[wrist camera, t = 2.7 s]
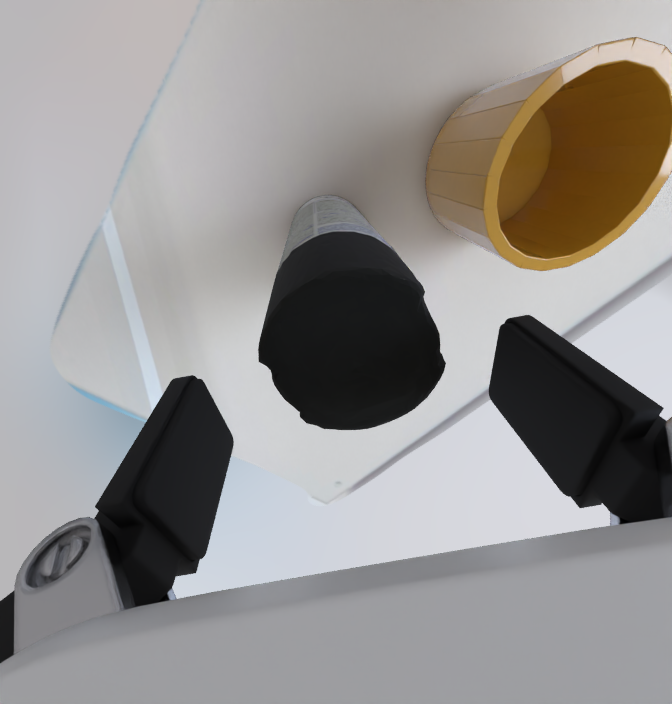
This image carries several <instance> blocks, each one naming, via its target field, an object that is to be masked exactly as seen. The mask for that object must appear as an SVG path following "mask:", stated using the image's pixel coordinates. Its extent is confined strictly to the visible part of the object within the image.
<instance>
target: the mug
mask: <svg viewBox="0 0 672 704" xmlns="http://www.w3.org/2000/svg"><path fill="white" fill-rule="evenodd" d="M671 172H672V53H671V52H670V51H669V50H668V48H667V47H665V45H661V44H658V43H655V42H651V41H648V40H645V39H641V38H638V37H635V38H633V37H631V38H626V39H621V40H616V41H611V42H606V43H601V44H597V45H594V46H592V47H589V48H587V49H584V50H581V51H579V52H576V53H574V54H571V55H568V56H566V57H563V58H561V59H558V60H556V61H553V62H550V63H548V64H545V65H543V66H540V67H537V68H535V69H532V70H530V71H527V72H524V73H522V74H519V75H517V76H514V77H511V78H509V79H506V80H504V81H501V82H498V83H496V84H493V85H491V86H490V87H488V88H486V89H484V90H482V91H479V92H478V93H476V94H475V95H473V96H471V97H470V98H469V99H467V100H466V101H465V102H464V103H462V104H461V105H460V106H459V107H458V108H457V109H456V110H455V111H454V112H453V114H452V115H451V116H450V117H449V119H448V120H447V121H446V123H445V124H444V126H443V127H442V129H441V130H440V132H439V134H438V136H437V138H436V140H435V142H434V145H433V147H432V150H431V153H430V156H429V160H428V164H427V170H426V193H427V199H428V202H429V205H430V208H431V210H432V212H433V214H434V216H435V217H436V219H437V220H438V221H439V222H440V223H441V224H442V225H443V226H444V227H445V228H447V229H448V230H450V231H452V232H453V233H455V234H457V235H458V236H460V237H462V238H464V239H466V240H468V241H470V242H471V243H473V244H475V245H477V246H479V247H481V248H483V249H485V250H486V251H488V252H490V253H492V254H494V255H496V256H498V257H500V258H501V259H503V260H505V261H507V262H509V263H511V264H513V265H515V266H516V267H519V268H523V269H530V270H537V271H546V270H552V269H558V268H563V267H568V266H571V265H573V264H575V263H577V262H580V261H582V260H584V259H586V258H588V257H591V256H593V255H595V254H596V253H598V252H599V251H601V250H602V249H603V248H605V247H606V246H607V245H609V244H610V243H612V242H613V241H614V240H616V239H617V238H618V237H620V236H621V235H622V234H624V233H625V232H626V231H627V230H628V229H629V228H630V227H631V225H632V224H633V223H634V222H635V221H636V220H637V219H638V218H639V217H640V216H641V215H642V214H643V213H644V212H645V211H646V210H647V209H648V208H647V207H649V206H650V205H651V203H652V202H653V200H654V199H655V197H656V196H657V194H658V193H659V191H660V190H661V188H662V187H663V185H664V184H665V182H666V181H667V179H668V178H669V175H670V174H671Z"/></svg>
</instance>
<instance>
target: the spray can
mask: <svg viewBox="0 0 672 704" xmlns="http://www.w3.org/2000/svg"><path fill="white" fill-rule="evenodd" d="M424 293H425V291H424V289H423V286H422V285H421V283H420V282H419V281H418V280H417V279H416V278H415V276H414V275H413V273H412V272H411V270H410V269H409V268H408V267H407V266H406V264H405V263H404V262H403V261H402V260H401V259H400V257H399V256H398V255H397V253H396V252H395V251H394V249H393V248H392V247H391V246H390V245H389V244H388V243H387V242H386V241H385V240H384V239H383V238H382V237H381V235H380V234H379V233H378V232H377V231H376V230H375V229H374V228H373V227H372V226H371V224H370V223H369V222H368V221H367V220H366V219H365V218H364V217H363V215H362V214H361V213H360V212H359V211H358V210H357V209H356V208H355V207H354V205H352V204H351V203H350V202H348V201H347V200H345V199H343V198H341V197H337V196H332V195H324V196H319V197H315V198H313V199H311V200H309V201H308V202H306V203H305V204H304V205H303V206H302V207H301V208H300V209H299V210H298V212H297V213H296V215H295V217H294V219H293V221H292V225H291V228H290V231H289V235H288V238H287V241H286V244H285V248H284V251H283V255H282V258H281V261H280V265H279V268H278V272H277V274H276V278H275V282H274V285H273V289H272V293H271V297H270V301H269V305H268V309H267V313H266V317H265V321H264V325H263V329H262V333H261V337H260V342H259V349H258V351H259V362H260V363H262V364H264V365H266V366H267V367H268V368H269V369H270V370H271V373H272V380H273V382H274V385H275V386H276V388H277V390H278V391H279V393H280V394H281V395H282V396H283V398H284V399H285V400H286V401H287V402H288V403H290V404H291V405H292V406H293V407H294V408H296V409H297V410H298V411H299V412H300V417H301V418H302V419H303V420H304V421H305V422H306V423H308V424H313V425H317V426H319V427H321V428H323V429H337V430H360V429H368V428H372V427H376V426H379V425H382V424H384V423H387V422H390V421H392V420H395V419H397V418H399V417H401V416H403V415H405V414H407V413H408V412H410V411H412V410H413V409H415V408H416V407H417V406H418V405H419V404H420V403H421V402H422V401H424V400H425V399H426V398H427V397H428V395H429V394H430V393H431V392H432V390H433V389H434V388H435V386H436V384H437V383H438V381H439V380H440V378H441V376H442V374H443V372H444V368H445V364H446V363H445V361H444V359H443V356H442V354H441V353H440V337H439V332H438V330H437V327H436V325H435V323H434V321H433V319H432V317H431V315H430V313H429V311H428V309H427V306H426V304H425V302H424V298H423V296H424Z"/></svg>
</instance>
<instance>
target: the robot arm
mask: <svg viewBox="0 0 672 704" xmlns="http://www.w3.org/2000/svg"><path fill="white" fill-rule="evenodd" d="M489 396H490V399H491V400H492V402H493V403H494V405H495V406H496V407H497V408H498V410H499V411H500V412H501V414H502V415H503V416H504V418H505V419H506V420H507V422H508V423H509V424H510V425H511V427H512V428H513V429H514V431H515V432H516V433H517V435H518V436H519V437H520V438H521V440H522V441H523V442H524V444H525V445H526V446H527V448H528V449H529V450H530V452H531V453H532V454H533V455H534V457H535V458H536V459H537V461H538V462H539V463H540V465H541V466H542V467H543V468H544V470H545V471H546V472H547V474H548V475H549V476H550V478H551V479H552V480H553V481H554V483H555V484H556V485H557V487H558V488H559V489H560V490H561V491H562V492H563V494H565V495H566V496H571V498H572V499H573V500H574V501H575V502H576V504H577V505H578V506H579V508H584V507H589V506H596V505H601V503H603V504H604V505H605V506H606V507H607V508H608V510H609V511H610V526H606V527H599V528H593V529H588V530H580V531H574V532H568V533H562V534H557V535H550V536H543V537H537V538H531V539H525V540H519V541H513V542H507V543H501V544H494V545H488V546H482V547H476V548H470V549H464V550H458V551H452V552H446V553H440V554H434V555H428V556H422V557H416V558H410V559H404V560H398V561H392V562H386V563H380V564H374V565H368V566H362V567H356V568H350V569H345V570H338V571H332V572H327V573H321V574H315V575H309V576H303V577H298V578H292V579H287V580H280V581H274V582H269V583H263V584H257V585H251V586H246V587H240V588H234V589H228V590H222V591H217V592H211V593H206V594H201V595H196V596H190V597H186V598H180V599H176V597H175V594H174V592H173V589H172V586H173V583H174V580H175V577H176V576H181V575H187V574H193V573H196V571H197V567H198V563H199V560H200V559H202V558H203V557H204V556H205V554H206V551H207V547H208V544H209V540H210V536H211V532H212V528H213V524H214V520H215V516H216V512H217V508H218V504H219V500H220V496H221V492H222V488H223V484H224V481H225V477H226V472H227V469H228V465H229V461H230V457H231V453H232V449H233V436H232V434H231V432H230V430H229V428H228V427H227V425H226V423H225V421H224V419H223V417H222V415H221V413H220V412H219V410H218V408H217V406H216V404H215V402H214V400H213V398H212V396H211V395H210V393H209V391H208V389H207V387H206V385H205V383H204V382H203V380H202V379H197V378H196V377H195V376H193V375H191V376H186V377H180V378H175V379H173V380H172V381H171V382H170V384H169V386H168V387H167V389H166V391H165V392H164V394H163V395H162V397H161V399H160V400H159V402H158V404H157V405H156V407H155V409H154V410H153V412H152V414H151V415H150V417H149V419H148V420H147V422H146V423H145V425H144V427H143V428H142V430H141V432H140V433H139V435H138V437H137V438H136V440H135V442H134V444H133V445H132V447H131V448H130V450H129V451H128V453H127V455H126V456H125V458H124V460H123V461H122V463H121V465H120V466H119V468H118V470H117V471H116V473H115V475H114V476H113V478H112V479H111V481H110V483H109V484H108V486H107V488H106V489H105V491H104V493H103V495H102V496H101V498H100V499H99V501H98V503H97V504H96V506H95V507H96V508H97V509H98V510H99V512H98V514H97V515H96V517H95V518H94V519H93V518H90V517H86V518H78V519H76V520H73V521H70V522H68V523H66V524H65V525H63V526H61V527H59V528H58V529H56V530H55V531H53V532H52V533H51V534H49V535H48V536H47V537H46V538H44V539H43V540H42V541H41V542H40V543H39V544H38V545H37V546H36V547H35V548H34V549H33V551H32V552H31V553H30V554H29V556H28V557H27V558H26V560H25V561H24V562H23V564H22V566H21V568H20V570H19V572H18V574H17V577H16V582H15V590H14V591H13V592H12V593H10V594H9V595H8V596H7V597H5V598H4V599H3V600H1V601H0V704H672V417H671V418H670V419H669V420H667V421H666V420H664V419H663V418H661V417H660V416H659V414H660V413H661V411H662V410H663V407H661V406H660V405H658V404H657V403H656V402H654V401H653V400H651V399H650V398H648V397H647V396H646V395H644V394H643V393H641V392H639V391H638V390H637V389H635V388H634V387H632V386H631V385H630V384H628V383H627V382H625V381H624V380H623V379H621V378H620V377H618V376H617V375H615V374H614V373H612V372H611V371H610V370H608V369H607V368H605V367H604V366H602V365H601V364H600V363H598V362H597V361H595V360H594V359H592V358H591V357H590V356H588V355H587V354H585V353H584V352H582V351H581V350H579V349H578V348H577V347H575V346H574V345H572V344H571V343H569V342H568V341H567V340H565V339H564V338H562V337H561V336H559V335H558V334H557V333H555V332H554V331H552V330H551V329H549V328H548V327H546V326H545V325H544V324H542V323H541V322H539V321H538V320H536V319H535V318H534V317H532V316H530V315H525V316H519V317H514V318H509V319H507V320H506V321H505V324H503V325H501V326H500V329H499V335H498V340H497V346H496V351H495V357H494V363H493V368H492V374H491V380H490V385H489Z"/></svg>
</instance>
